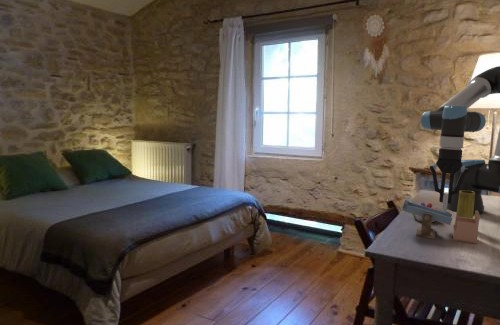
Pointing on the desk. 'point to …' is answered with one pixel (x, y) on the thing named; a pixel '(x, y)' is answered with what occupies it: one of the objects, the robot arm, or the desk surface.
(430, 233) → the fulcrum
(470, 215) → the vase
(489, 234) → the desk surface
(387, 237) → the desk surface
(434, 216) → the lever
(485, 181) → the robot arm
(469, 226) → the pink square box
